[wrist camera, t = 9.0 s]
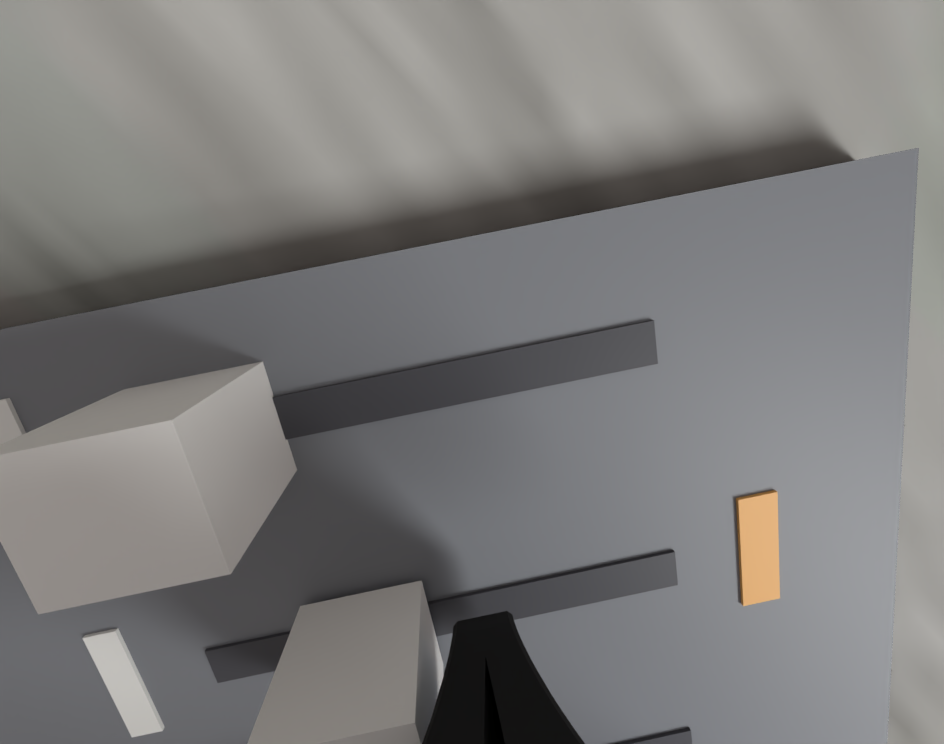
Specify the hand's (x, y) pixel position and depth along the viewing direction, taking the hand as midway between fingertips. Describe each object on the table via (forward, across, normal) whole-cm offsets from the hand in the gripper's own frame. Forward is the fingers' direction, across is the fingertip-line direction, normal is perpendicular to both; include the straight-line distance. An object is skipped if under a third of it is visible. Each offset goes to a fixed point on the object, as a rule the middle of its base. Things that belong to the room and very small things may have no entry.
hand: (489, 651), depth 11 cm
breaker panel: (+3, +1, 0) cm, 3 cm away
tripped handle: (+1, +3, 0) cm, 3 cm away
